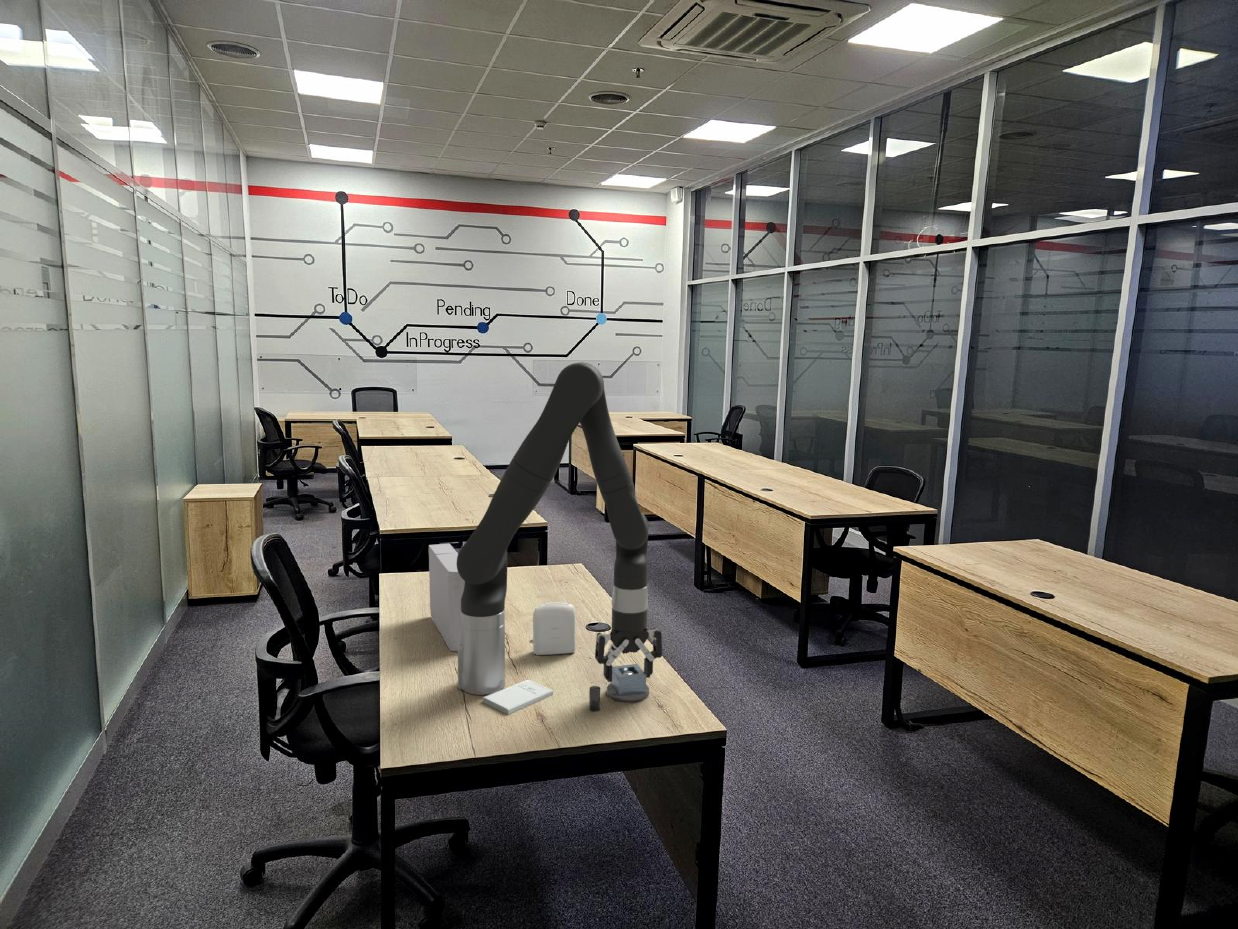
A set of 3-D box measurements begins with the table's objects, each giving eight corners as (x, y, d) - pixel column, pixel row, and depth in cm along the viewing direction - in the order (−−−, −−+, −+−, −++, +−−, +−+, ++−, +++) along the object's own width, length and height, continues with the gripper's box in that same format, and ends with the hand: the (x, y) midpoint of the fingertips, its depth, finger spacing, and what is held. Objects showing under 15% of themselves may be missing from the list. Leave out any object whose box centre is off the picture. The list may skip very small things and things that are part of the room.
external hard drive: (482, 704, 158) (527, 685, 167) (508, 717, 153) (553, 696, 162) (482, 696, 158) (527, 678, 167) (508, 709, 153) (553, 689, 162)
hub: (602, 699, 160) (602, 679, 159) (612, 681, 169) (612, 662, 168) (644, 705, 158) (644, 684, 157) (652, 686, 167) (652, 667, 166)
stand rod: (588, 710, 155) (588, 690, 154) (590, 706, 157) (591, 685, 156) (598, 712, 154) (598, 691, 154) (601, 707, 157) (601, 686, 156)
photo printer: (533, 656, 182) (533, 607, 180) (532, 649, 186) (532, 601, 184) (576, 654, 183) (576, 605, 181) (574, 647, 187) (574, 599, 186)
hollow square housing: (618, 696, 159) (619, 678, 159) (610, 684, 165) (610, 666, 164) (645, 693, 161) (646, 675, 161) (636, 681, 167) (637, 663, 166)
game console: (450, 653, 183) (448, 572, 180) (429, 616, 208) (427, 545, 205) (473, 649, 185) (473, 570, 182) (450, 613, 210) (449, 543, 207)
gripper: (602, 614, 155) (600, 689, 157) (667, 608, 159) (665, 682, 161) (592, 602, 162) (591, 674, 164) (655, 597, 166) (653, 668, 168)
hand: (628, 678), depth 163 cm, fingers open, 8 cm apart
